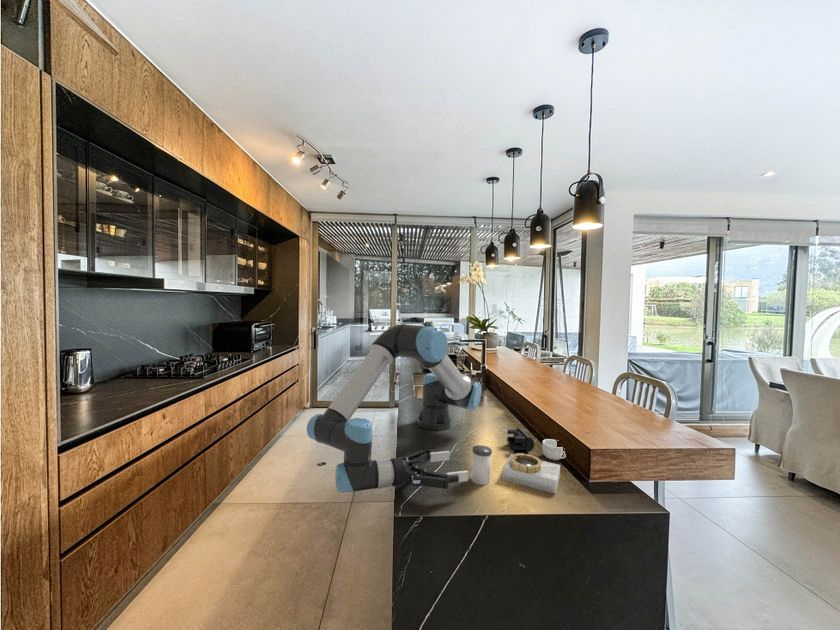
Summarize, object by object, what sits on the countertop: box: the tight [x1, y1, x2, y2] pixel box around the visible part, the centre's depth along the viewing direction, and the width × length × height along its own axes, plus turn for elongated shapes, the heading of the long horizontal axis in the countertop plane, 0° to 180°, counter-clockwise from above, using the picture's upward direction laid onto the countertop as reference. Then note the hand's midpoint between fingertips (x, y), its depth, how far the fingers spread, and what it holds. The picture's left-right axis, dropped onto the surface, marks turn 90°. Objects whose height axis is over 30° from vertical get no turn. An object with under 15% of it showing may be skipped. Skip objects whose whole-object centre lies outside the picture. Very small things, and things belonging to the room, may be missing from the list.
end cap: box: [506, 427, 535, 454], centre depth 141 cm, size 10×7×7 cm
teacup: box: [541, 438, 567, 461], centre depth 133 cm, size 10×8×5 cm
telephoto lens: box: [471, 444, 493, 486], centre depth 115 cm, size 6×6×10 cm
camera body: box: [501, 453, 561, 494], centre depth 117 cm, size 16×12×6 cm
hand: (458, 465), depth 112 cm, fingers open, 13 cm apart
